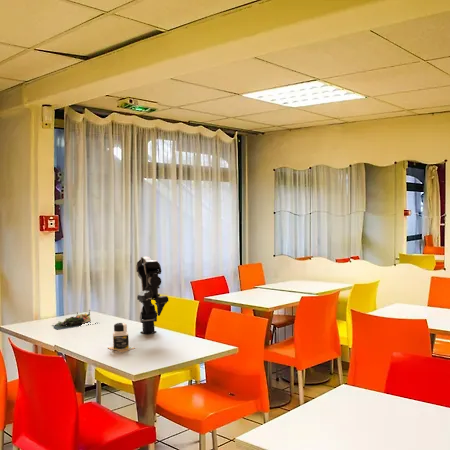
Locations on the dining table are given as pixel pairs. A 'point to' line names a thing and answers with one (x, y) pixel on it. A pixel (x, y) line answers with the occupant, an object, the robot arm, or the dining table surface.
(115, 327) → the medicine bottle
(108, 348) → the envelope
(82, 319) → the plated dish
